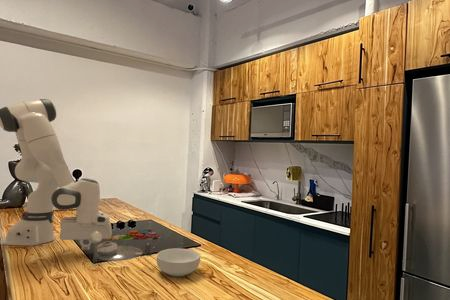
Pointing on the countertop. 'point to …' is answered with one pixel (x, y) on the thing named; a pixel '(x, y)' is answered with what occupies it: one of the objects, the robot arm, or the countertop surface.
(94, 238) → the lever with square base
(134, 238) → the gear puzzle
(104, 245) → the cover
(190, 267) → the cereal bowl
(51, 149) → the robot arm
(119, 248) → the turntable
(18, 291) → the countertop surface
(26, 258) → the countertop surface
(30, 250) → the countertop surface
